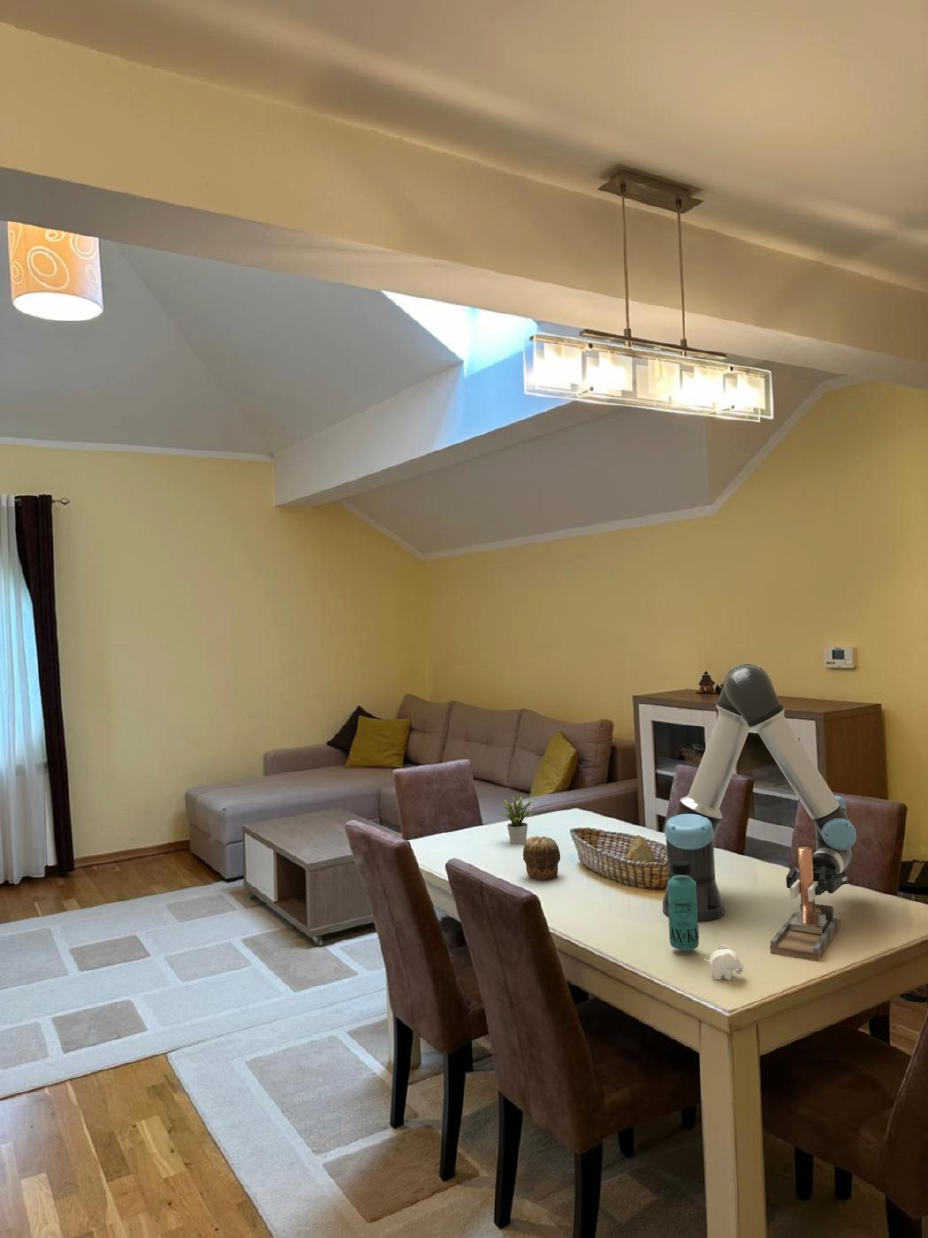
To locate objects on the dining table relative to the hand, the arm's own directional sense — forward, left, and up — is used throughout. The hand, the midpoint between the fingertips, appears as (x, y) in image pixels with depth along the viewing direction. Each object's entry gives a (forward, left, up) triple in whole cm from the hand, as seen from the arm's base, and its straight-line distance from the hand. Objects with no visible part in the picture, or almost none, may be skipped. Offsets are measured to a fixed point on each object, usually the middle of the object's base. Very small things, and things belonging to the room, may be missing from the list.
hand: (801, 894), depth 193 cm
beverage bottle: (-26, -8, -11) cm, 29 cm away
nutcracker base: (+1, +3, -11) cm, 11 cm away
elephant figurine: (-18, -21, -11) cm, 30 cm away
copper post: (+2, +5, -9) cm, 11 cm away
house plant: (-81, +83, -11) cm, 116 cm away
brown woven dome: (-67, +45, -11) cm, 81 cm away
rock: (-39, +54, -11) cm, 67 cm away
